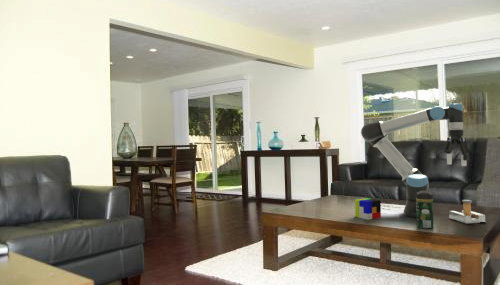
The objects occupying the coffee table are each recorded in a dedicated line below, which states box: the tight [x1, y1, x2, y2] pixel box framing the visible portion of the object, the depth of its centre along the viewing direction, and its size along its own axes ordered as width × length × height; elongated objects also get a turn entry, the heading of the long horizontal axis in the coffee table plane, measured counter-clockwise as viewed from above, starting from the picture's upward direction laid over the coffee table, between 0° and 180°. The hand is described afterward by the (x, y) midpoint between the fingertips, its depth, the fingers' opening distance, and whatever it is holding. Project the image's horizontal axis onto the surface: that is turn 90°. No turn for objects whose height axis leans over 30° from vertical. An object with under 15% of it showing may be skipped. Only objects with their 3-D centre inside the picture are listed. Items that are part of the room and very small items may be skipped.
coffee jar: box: [416, 190, 434, 230], centre depth 202 cm, size 10×8×19 cm
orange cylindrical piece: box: [462, 199, 473, 216], centre depth 214 cm, size 4×4×11 cm
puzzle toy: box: [354, 197, 382, 221], centre depth 229 cm, size 10×10×10 cm
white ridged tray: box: [448, 209, 486, 224], centre depth 215 cm, size 11×14×4 cm
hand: (456, 165), depth 234 cm, fingers open, 13 cm apart
